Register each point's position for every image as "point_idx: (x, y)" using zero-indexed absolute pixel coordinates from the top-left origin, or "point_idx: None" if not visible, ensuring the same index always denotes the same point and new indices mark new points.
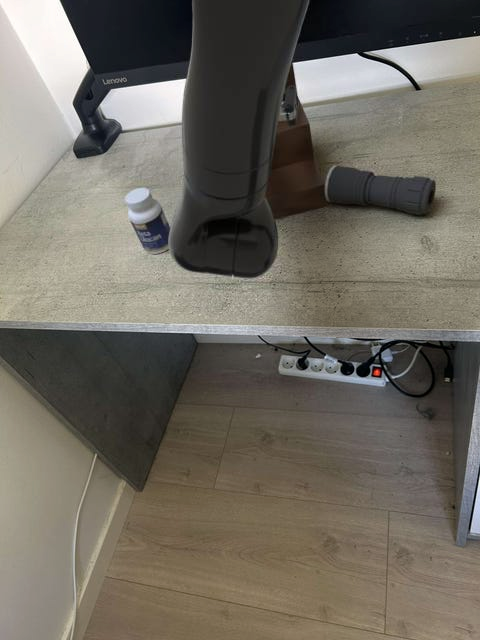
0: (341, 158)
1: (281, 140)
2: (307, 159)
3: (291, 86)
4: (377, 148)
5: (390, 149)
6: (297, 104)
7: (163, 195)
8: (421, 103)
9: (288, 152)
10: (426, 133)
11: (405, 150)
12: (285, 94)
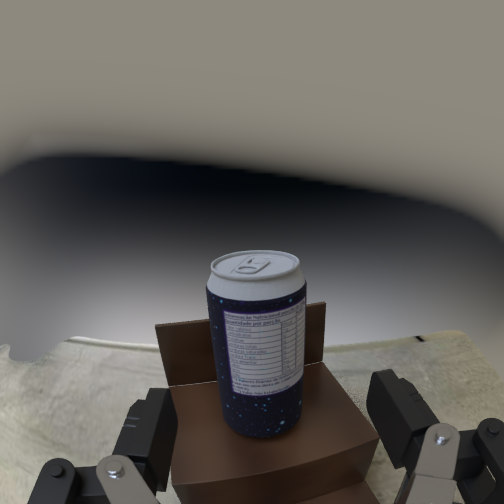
0: (381, 452)
1: (316, 470)
2: (352, 484)
3: (496, 428)
4: None
5: None
6: (489, 475)
7: None
8: (437, 358)
9: (322, 483)
10: (469, 400)
11: (462, 430)
12: (470, 458)
